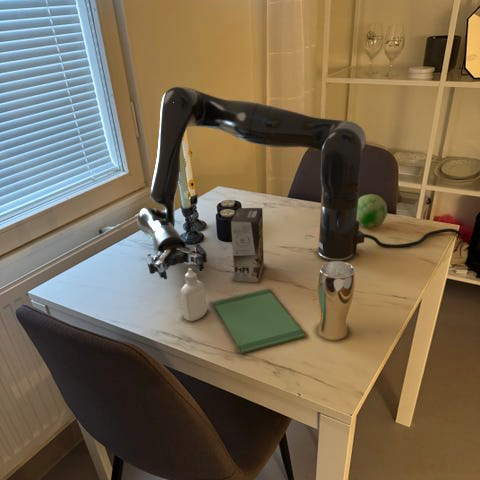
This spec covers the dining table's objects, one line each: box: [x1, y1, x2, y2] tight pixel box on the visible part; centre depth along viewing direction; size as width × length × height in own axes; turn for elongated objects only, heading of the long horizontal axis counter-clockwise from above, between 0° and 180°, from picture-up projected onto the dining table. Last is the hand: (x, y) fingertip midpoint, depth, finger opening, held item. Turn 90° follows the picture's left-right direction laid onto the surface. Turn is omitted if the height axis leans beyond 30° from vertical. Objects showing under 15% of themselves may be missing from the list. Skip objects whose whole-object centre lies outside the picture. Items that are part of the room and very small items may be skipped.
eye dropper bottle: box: [180, 267, 208, 322], centre depth 101 cm, size 4×6×12 cm
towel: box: [212, 288, 306, 354], centre depth 102 cm, size 14×20×1 cm
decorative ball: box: [356, 193, 388, 230], centre depth 135 cm, size 10×10×10 cm
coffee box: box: [230, 207, 265, 283], centre depth 114 cm, size 9×6×16 cm
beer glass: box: [317, 261, 356, 341], centre depth 93 cm, size 7×7×15 cm
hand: (183, 272), depth 107 cm, fingers open, 8 cm apart
